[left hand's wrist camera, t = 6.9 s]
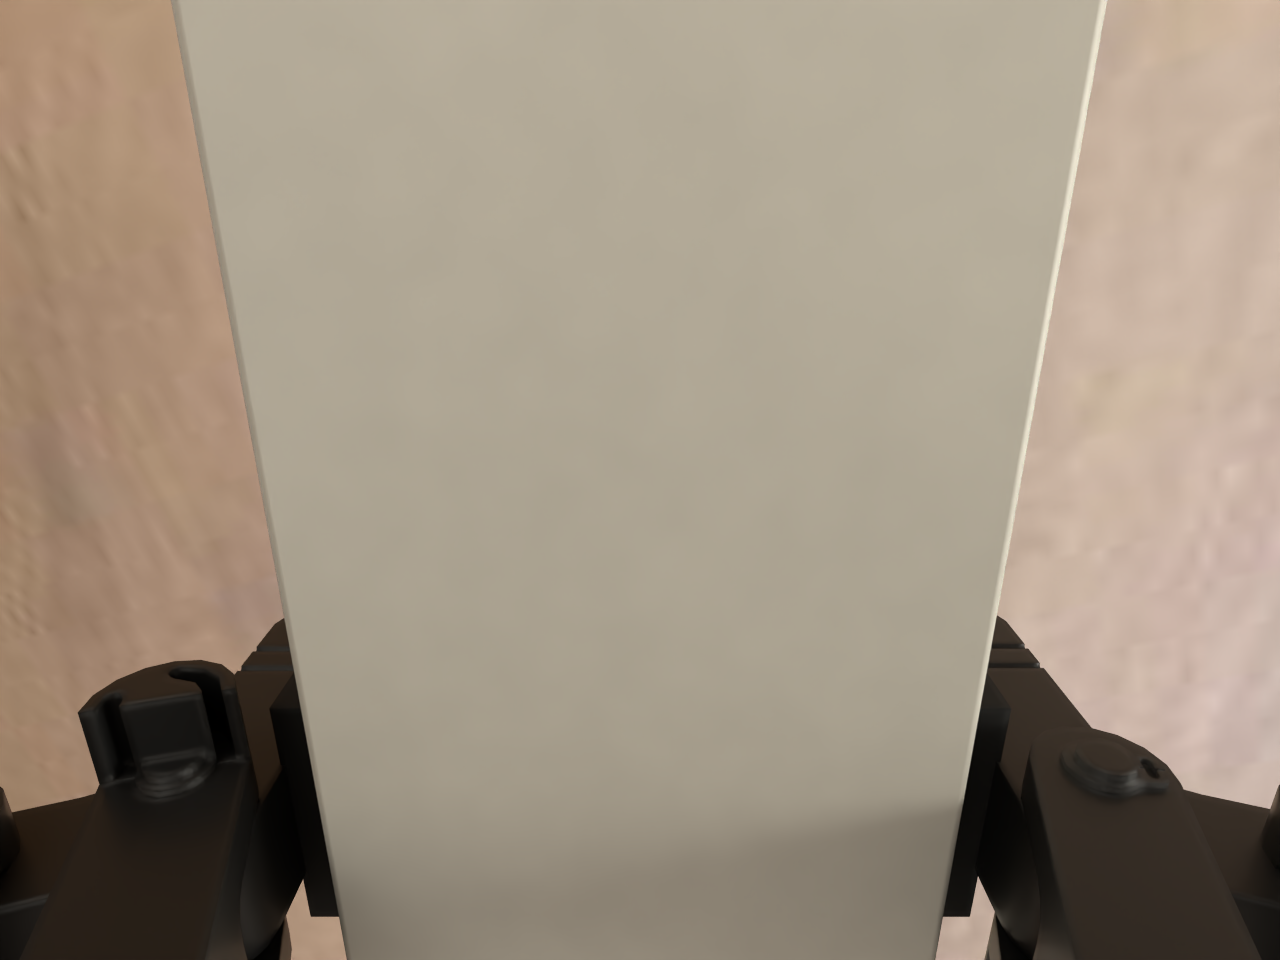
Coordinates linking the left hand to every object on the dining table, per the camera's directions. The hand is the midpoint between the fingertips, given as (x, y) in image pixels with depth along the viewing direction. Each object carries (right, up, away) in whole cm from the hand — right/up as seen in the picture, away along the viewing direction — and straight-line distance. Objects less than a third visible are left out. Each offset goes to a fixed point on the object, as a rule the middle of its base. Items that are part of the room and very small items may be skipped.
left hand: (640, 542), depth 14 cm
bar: (0, -18, +8) cm, 20 cm away
